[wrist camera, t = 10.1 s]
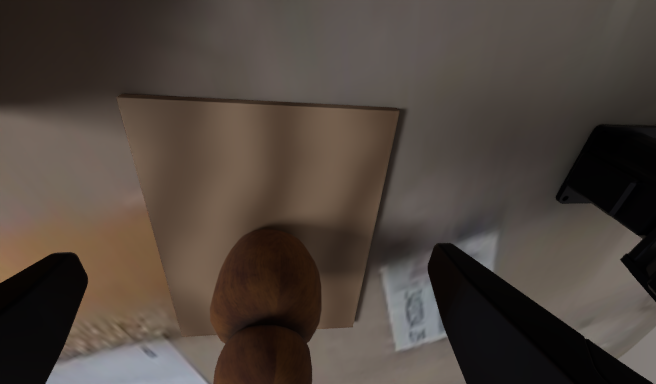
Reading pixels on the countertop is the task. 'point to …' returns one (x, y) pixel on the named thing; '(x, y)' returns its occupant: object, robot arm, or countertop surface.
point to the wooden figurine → (266, 310)
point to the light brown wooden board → (258, 189)
